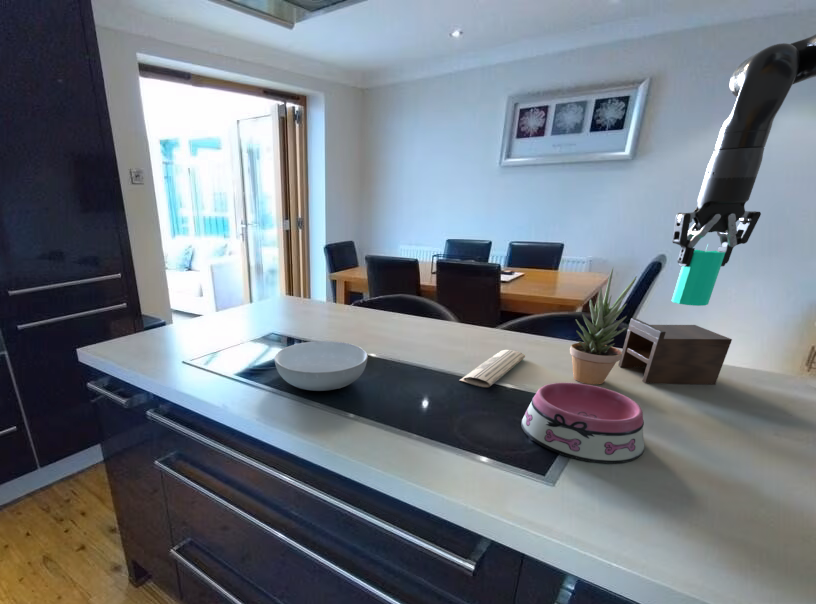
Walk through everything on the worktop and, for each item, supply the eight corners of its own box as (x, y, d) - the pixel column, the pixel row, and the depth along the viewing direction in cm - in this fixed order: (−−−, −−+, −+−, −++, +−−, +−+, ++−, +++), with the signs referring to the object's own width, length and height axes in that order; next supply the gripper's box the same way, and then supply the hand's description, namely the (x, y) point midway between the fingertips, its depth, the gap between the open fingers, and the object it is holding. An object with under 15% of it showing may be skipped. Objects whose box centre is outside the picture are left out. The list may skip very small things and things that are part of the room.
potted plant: (617, 377, 99) (648, 266, 90) (609, 391, 93) (641, 272, 83) (568, 368, 106) (591, 262, 96) (557, 380, 99) (581, 268, 89)
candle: (707, 307, 89) (727, 245, 85) (670, 303, 93) (687, 244, 88) (708, 301, 93) (728, 242, 89) (673, 298, 97) (690, 241, 92)
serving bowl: (291, 363, 113) (290, 338, 111) (372, 369, 108) (373, 343, 105) (262, 397, 95) (260, 367, 92) (358, 406, 90) (359, 375, 87)
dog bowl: (657, 434, 76) (669, 399, 73) (624, 478, 65) (636, 438, 62) (545, 402, 89) (552, 370, 86) (502, 434, 78) (508, 399, 75)
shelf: (681, 366, 105) (697, 318, 100) (715, 384, 95) (734, 332, 90) (618, 365, 106) (630, 318, 102) (645, 383, 96) (660, 331, 92)
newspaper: (489, 388, 96) (491, 381, 95) (458, 381, 100) (459, 373, 99) (524, 359, 112) (526, 352, 111) (496, 353, 116) (497, 347, 115)
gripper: (702, 176, 81) (675, 269, 88) (789, 173, 79) (754, 268, 86) (675, 178, 88) (652, 264, 95) (755, 175, 86) (725, 263, 93)
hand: (701, 265), depth 90 cm, fingers closed on candle, 6 cm apart
